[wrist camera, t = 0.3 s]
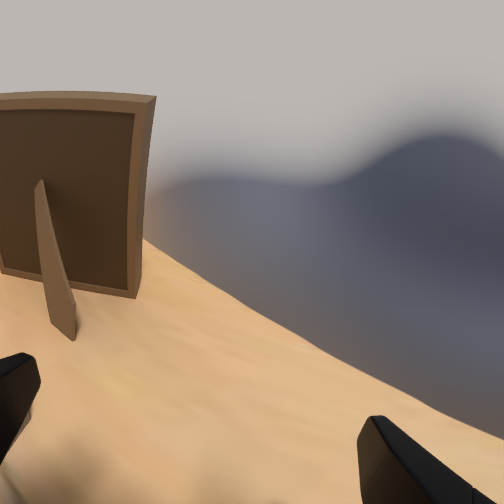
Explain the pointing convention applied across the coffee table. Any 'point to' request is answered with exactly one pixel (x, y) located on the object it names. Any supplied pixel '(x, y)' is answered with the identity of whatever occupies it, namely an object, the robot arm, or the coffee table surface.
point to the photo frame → (74, 193)
